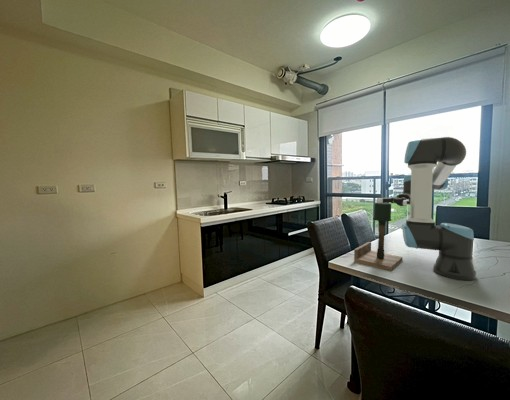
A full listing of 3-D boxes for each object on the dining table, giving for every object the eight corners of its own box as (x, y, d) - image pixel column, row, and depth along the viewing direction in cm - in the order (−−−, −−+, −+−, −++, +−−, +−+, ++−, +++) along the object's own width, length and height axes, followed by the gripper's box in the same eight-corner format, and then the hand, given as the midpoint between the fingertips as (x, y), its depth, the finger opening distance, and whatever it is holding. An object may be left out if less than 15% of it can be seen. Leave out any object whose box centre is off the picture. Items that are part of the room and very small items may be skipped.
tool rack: (368, 253, 138) (368, 241, 137) (402, 260, 125) (402, 248, 124) (354, 261, 124) (354, 249, 124) (390, 270, 111) (391, 257, 111)
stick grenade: (393, 260, 119) (395, 204, 116) (376, 260, 120) (378, 204, 117) (384, 255, 128) (386, 202, 125) (368, 255, 128) (370, 202, 125)
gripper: (428, 207, 131) (415, 210, 118) (382, 204, 150) (367, 206, 137) (429, 194, 130) (416, 196, 117) (382, 193, 150) (367, 194, 136)
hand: (389, 202), depth 127 cm, fingers open, 13 cm apart
